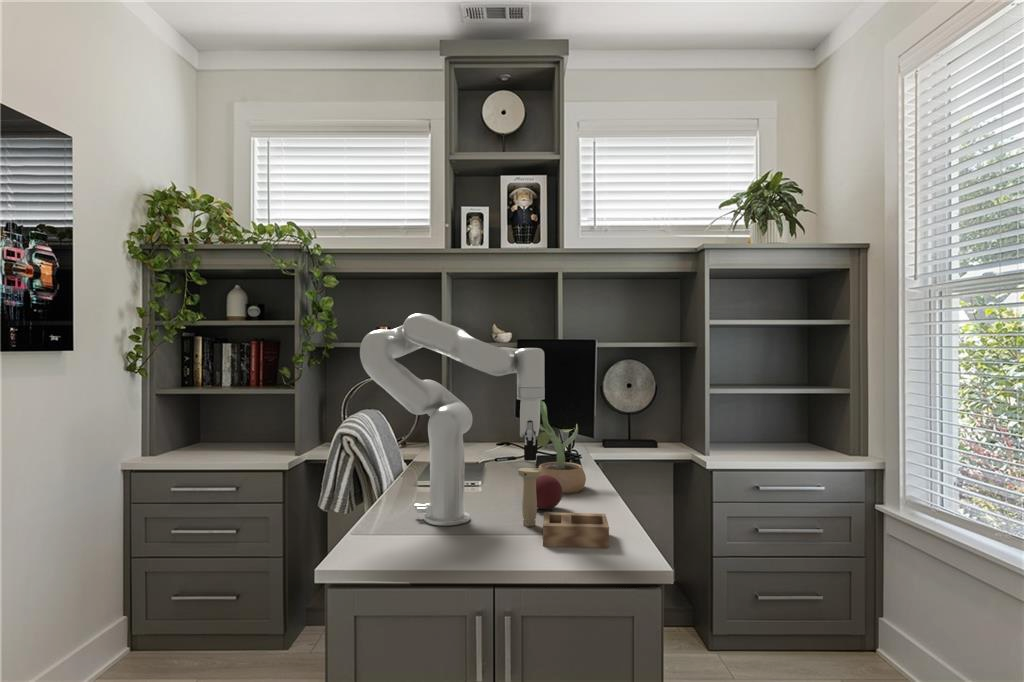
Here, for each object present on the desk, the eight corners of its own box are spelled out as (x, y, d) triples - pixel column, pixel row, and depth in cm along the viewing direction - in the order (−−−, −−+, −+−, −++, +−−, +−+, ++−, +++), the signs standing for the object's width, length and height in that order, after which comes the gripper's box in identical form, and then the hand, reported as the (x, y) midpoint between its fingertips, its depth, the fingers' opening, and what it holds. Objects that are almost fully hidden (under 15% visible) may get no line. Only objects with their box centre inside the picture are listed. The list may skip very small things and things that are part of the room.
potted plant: (590, 484, 224) (591, 397, 224) (580, 496, 207) (581, 402, 207) (527, 479, 231) (528, 395, 230) (513, 491, 214) (513, 400, 213)
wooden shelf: (542, 546, 158) (542, 525, 158) (543, 531, 170) (543, 512, 170) (608, 548, 157) (609, 527, 157) (605, 532, 169) (605, 513, 169)
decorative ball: (568, 511, 190) (568, 477, 190) (538, 515, 185) (538, 480, 185) (551, 503, 199) (551, 470, 199) (522, 506, 194) (522, 473, 194)
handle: (535, 529, 172) (535, 472, 171) (514, 525, 175) (515, 470, 175) (544, 524, 176) (544, 469, 176) (523, 521, 179) (524, 467, 179)
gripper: (518, 391, 184) (519, 451, 184) (514, 396, 167) (515, 463, 167) (545, 391, 183) (545, 451, 184) (543, 396, 166) (544, 463, 166)
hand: (531, 456), depth 175 cm, fingers open, 9 cm apart
